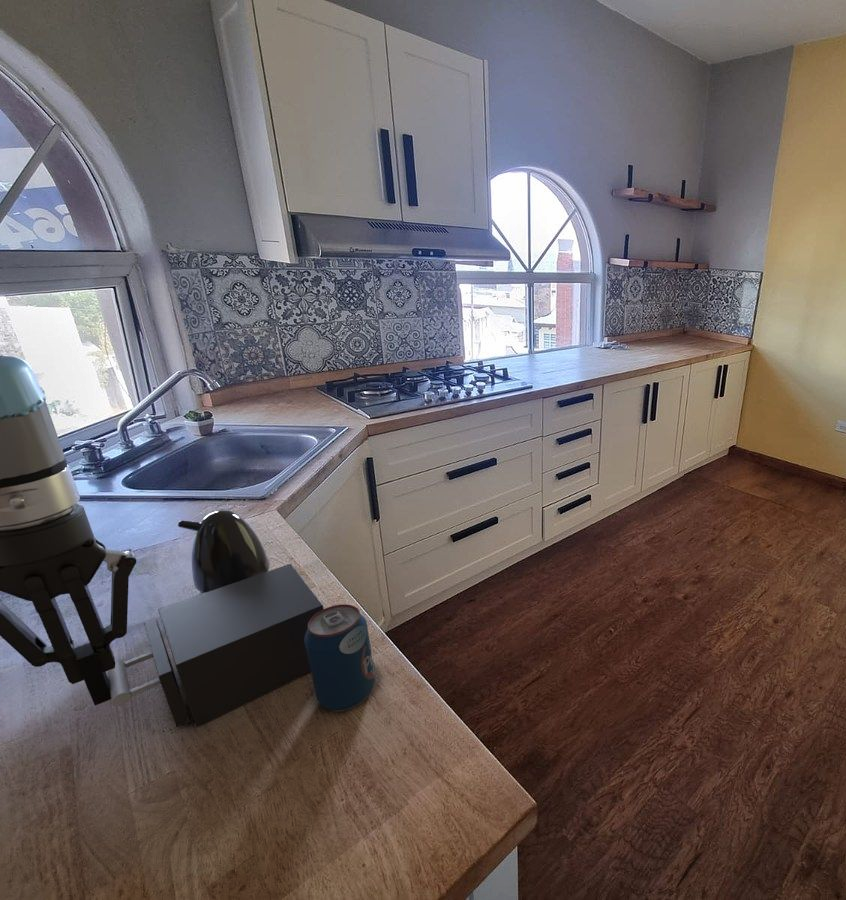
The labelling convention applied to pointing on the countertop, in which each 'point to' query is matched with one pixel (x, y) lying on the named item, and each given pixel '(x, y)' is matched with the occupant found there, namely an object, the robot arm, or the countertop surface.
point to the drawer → (166, 679)
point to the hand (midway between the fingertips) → (102, 695)
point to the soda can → (340, 657)
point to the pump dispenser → (224, 551)
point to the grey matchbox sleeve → (240, 640)
